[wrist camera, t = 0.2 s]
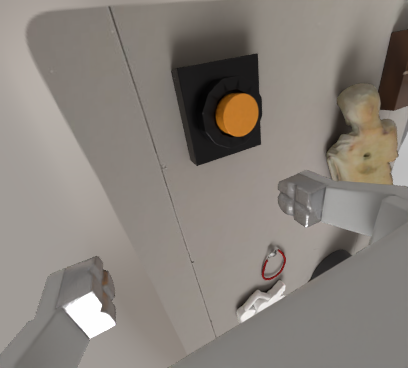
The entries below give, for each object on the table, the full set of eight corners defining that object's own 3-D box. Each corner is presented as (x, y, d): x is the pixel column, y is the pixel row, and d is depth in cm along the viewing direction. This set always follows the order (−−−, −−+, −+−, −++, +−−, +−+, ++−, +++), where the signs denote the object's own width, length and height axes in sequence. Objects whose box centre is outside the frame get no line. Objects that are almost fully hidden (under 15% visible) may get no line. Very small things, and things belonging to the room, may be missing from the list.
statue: (389, 195, 45) (352, 69, 31) (421, 217, 38) (393, 72, 25) (343, 218, 47) (291, 111, 34) (365, 242, 41) (313, 123, 28)
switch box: (170, 70, 21) (183, 66, 17) (246, 55, 23) (269, 50, 20) (190, 160, 25) (203, 171, 22) (251, 140, 28) (270, 148, 25)
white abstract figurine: (235, 304, 41) (241, 313, 40) (277, 273, 46) (285, 280, 44) (238, 327, 46) (244, 336, 44) (276, 297, 50) (283, 304, 48)
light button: (212, 97, 20) (220, 98, 18) (247, 89, 21) (257, 89, 19) (218, 137, 22) (226, 141, 20) (249, 128, 23) (259, 130, 21)
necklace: (261, 253, 39) (265, 256, 38) (286, 241, 41) (290, 245, 40) (260, 282, 43) (263, 286, 42) (283, 271, 45) (286, 274, 44)
